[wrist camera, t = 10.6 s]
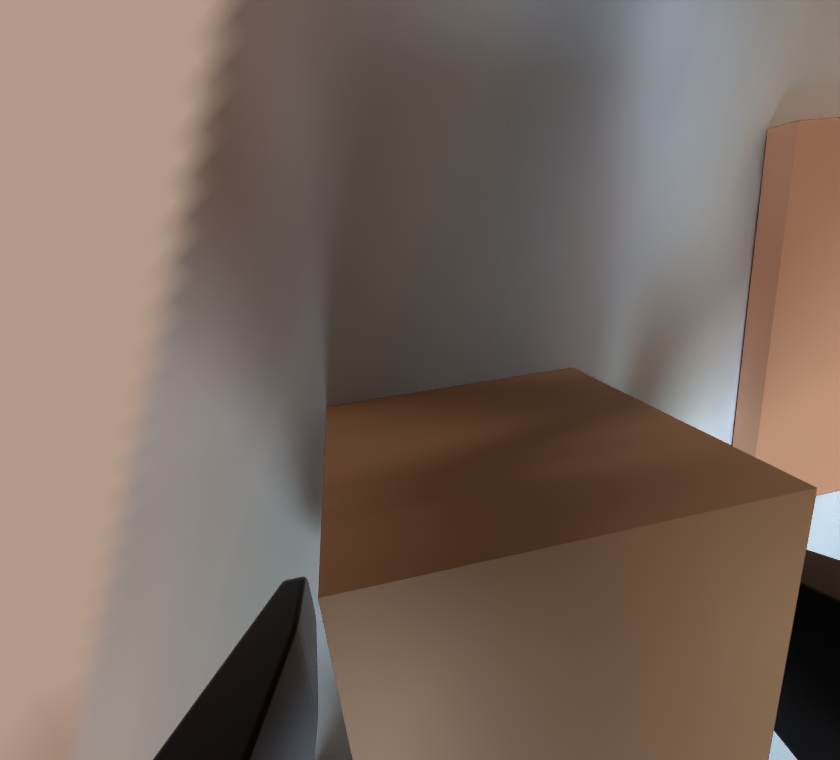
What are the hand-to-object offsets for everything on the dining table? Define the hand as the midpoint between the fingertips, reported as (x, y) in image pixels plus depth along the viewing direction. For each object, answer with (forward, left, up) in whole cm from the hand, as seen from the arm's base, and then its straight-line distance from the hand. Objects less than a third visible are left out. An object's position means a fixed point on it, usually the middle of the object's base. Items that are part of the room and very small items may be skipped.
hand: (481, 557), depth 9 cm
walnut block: (0, -1, -1) cm, 1 cm away
